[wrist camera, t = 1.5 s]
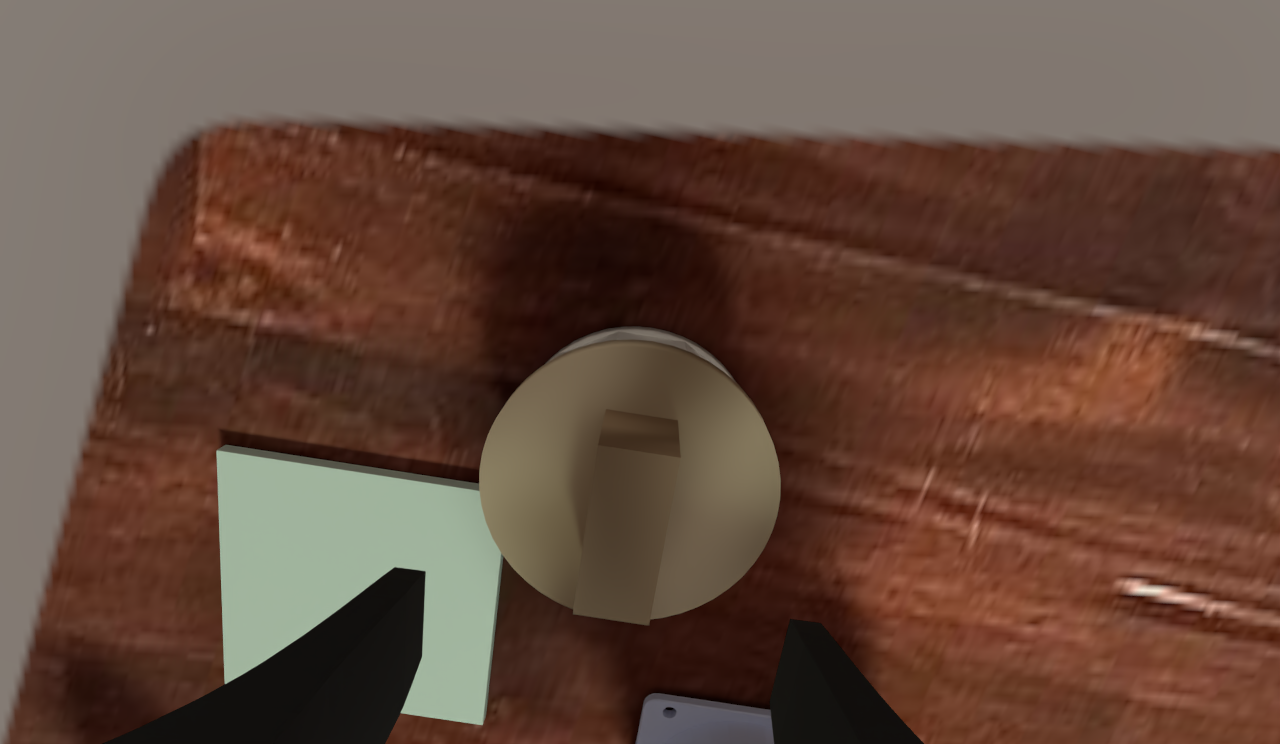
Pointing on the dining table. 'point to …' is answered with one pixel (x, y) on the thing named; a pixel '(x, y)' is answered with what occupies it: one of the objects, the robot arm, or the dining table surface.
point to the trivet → (356, 564)
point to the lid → (630, 481)
